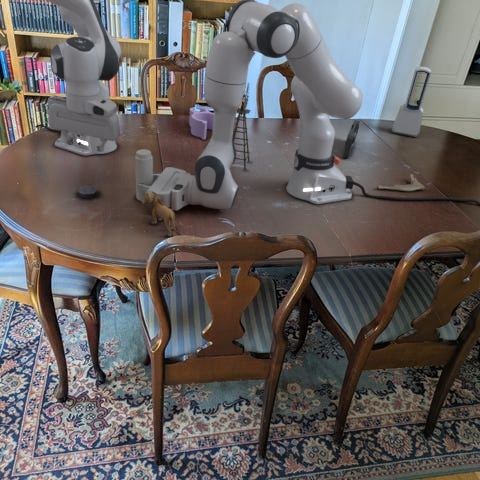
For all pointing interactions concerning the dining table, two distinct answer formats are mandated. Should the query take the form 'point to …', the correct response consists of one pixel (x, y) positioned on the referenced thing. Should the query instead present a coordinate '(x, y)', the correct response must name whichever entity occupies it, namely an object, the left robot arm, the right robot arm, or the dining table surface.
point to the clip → (201, 122)
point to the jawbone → (405, 186)
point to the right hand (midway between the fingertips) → (141, 181)
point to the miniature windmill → (244, 112)
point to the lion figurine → (159, 210)
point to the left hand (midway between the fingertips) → (85, 147)
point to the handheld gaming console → (351, 139)
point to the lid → (87, 192)
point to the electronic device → (411, 110)
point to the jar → (143, 170)
